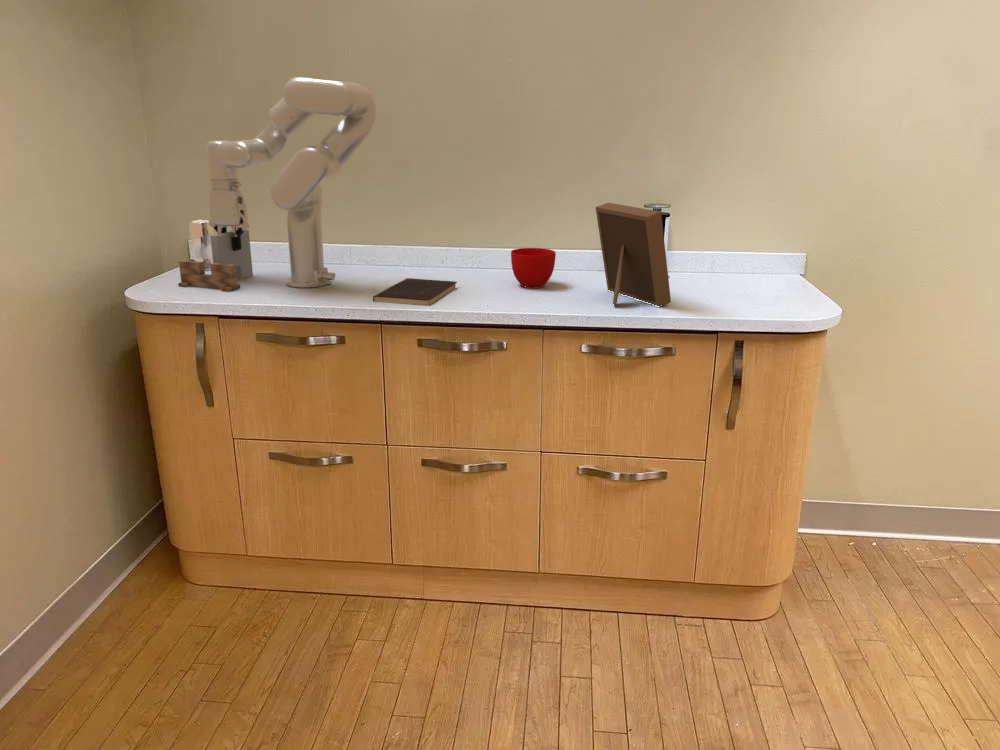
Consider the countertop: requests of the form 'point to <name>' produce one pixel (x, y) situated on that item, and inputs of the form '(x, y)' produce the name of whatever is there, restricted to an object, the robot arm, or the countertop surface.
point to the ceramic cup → (533, 265)
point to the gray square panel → (233, 253)
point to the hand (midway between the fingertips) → (231, 248)
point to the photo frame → (634, 252)
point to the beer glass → (202, 241)
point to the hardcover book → (415, 291)
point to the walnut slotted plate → (208, 275)
